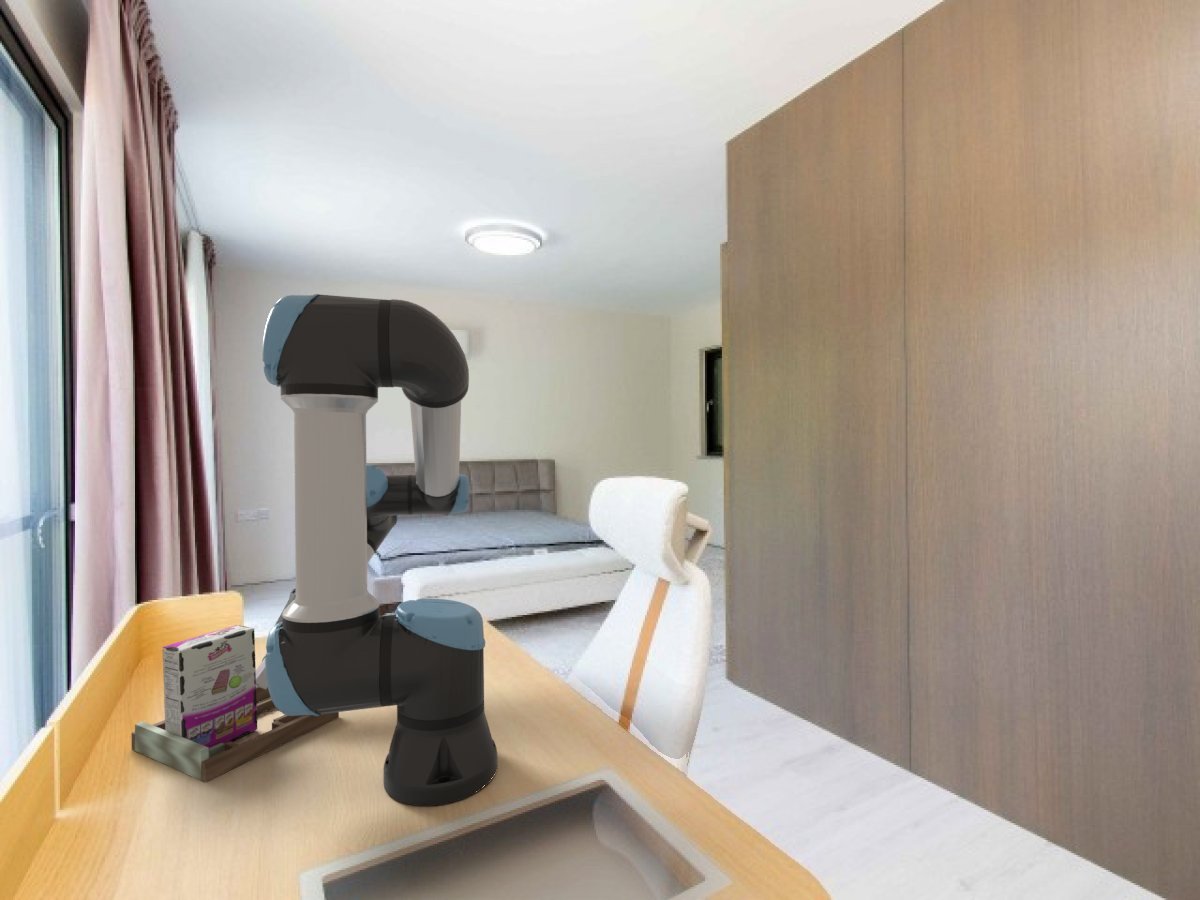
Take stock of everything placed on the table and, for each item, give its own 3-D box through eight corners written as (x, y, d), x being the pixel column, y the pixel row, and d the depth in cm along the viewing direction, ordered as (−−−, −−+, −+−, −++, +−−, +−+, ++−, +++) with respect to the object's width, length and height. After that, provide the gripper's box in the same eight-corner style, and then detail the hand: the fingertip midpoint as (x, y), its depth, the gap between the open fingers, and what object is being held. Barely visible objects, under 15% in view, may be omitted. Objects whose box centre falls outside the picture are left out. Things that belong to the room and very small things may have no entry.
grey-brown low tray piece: (338, 717, 97) (338, 693, 97) (205, 782, 78) (205, 752, 78) (267, 695, 105) (267, 673, 105) (131, 749, 87) (131, 722, 87)
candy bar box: (238, 724, 95) (237, 623, 94) (258, 730, 92) (257, 627, 92) (162, 757, 84) (160, 645, 84) (182, 765, 82) (181, 649, 82)
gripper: (379, 578, 108) (298, 702, 94) (332, 571, 114) (248, 687, 100) (355, 554, 104) (266, 682, 89) (307, 548, 109) (216, 667, 95)
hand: (257, 684), depth 94 cm, fingers closed
